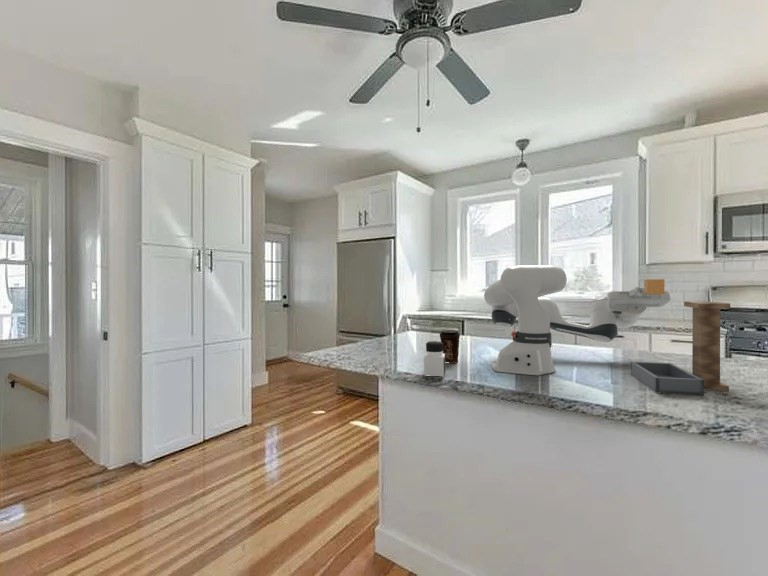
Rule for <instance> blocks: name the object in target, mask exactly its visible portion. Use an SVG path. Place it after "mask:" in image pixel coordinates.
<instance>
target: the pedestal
mask: <svg viewBox="0 0 768 576" xmlns="http://www.w3.org/2000/svg"><path fill="white" fill-rule="evenodd" d="M683 307H686V308H692V334H691V335H692V338H691V339H692V346H691V347H692V351H691V352H692V357H691V359H692V360H691V361H692V362H691V363H692V369H691V371H692V373H691V374H693V375H695V376H697V377H699V378H701V379H703V380H704V391H718V390H720V391H719V392H721V391H723V392H729V391H730V386H729V385H728V384H725V383H723V382H721V309H723V310H725V309H727V310H728V309H731V303H730V302H720V301H683Z"/></svg>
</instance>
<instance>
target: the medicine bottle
mask: <svg viewBox="0 0 768 576" xmlns="http://www.w3.org/2000/svg"><path fill="white" fill-rule="evenodd" d="M425 348H426V349H425V352H426V353H425V354H424V357H423V376H424V375H430V376H444V377H445V376H446V363H445V354H444V353H443V343H442V342H441V341H438V340H430V341H426V344H425Z"/></svg>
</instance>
